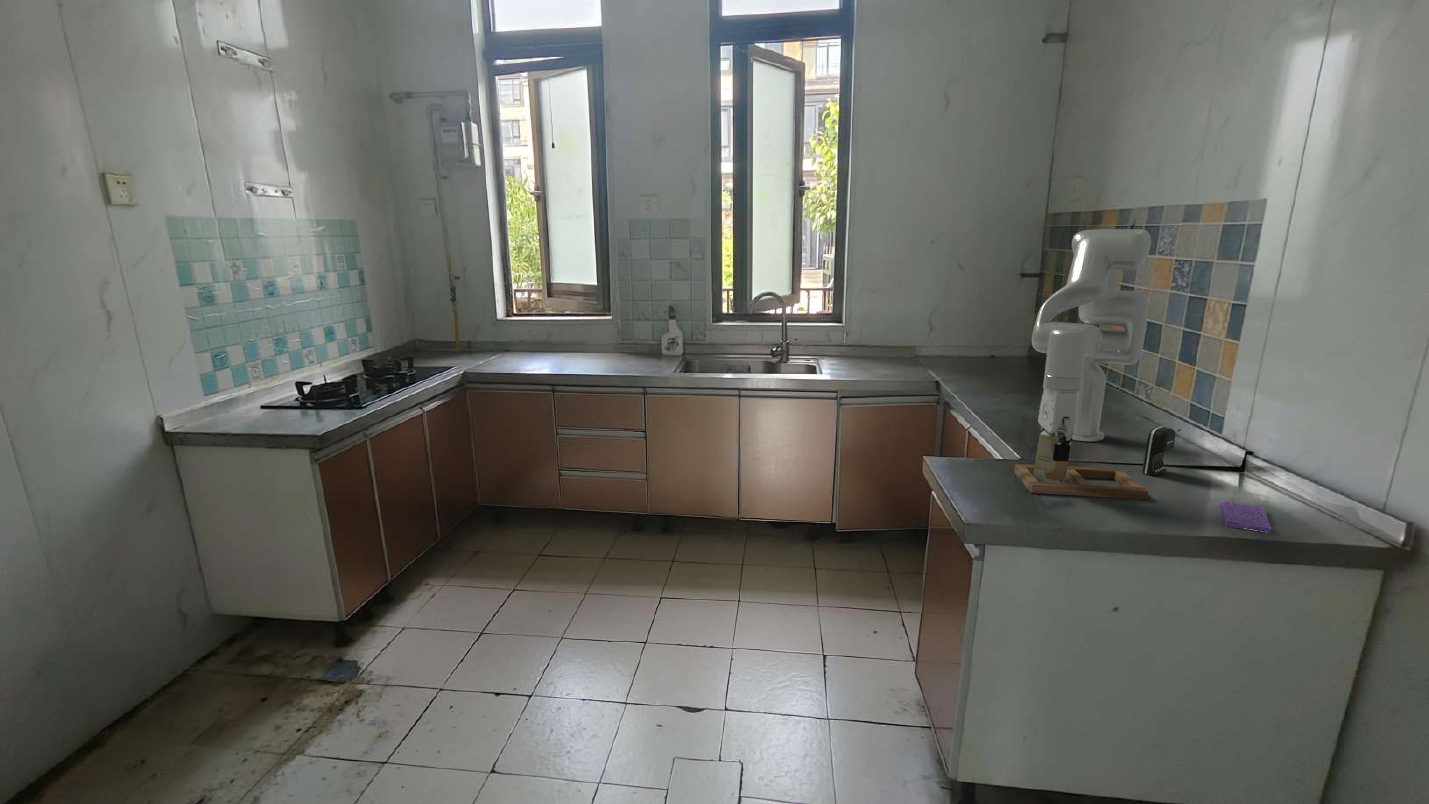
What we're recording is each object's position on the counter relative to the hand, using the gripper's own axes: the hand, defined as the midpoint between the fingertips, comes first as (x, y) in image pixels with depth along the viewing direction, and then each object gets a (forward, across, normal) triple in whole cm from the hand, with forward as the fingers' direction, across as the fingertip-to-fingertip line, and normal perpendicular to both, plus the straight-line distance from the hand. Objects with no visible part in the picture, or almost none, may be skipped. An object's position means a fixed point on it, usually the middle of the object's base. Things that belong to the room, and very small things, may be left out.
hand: (1053, 453), depth 148 cm
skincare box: (+7, 0, 0) cm, 8 cm away
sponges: (+8, +15, +32) cm, 37 cm away
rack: (+7, 0, +6) cm, 9 cm away
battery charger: (+8, -10, +28) cm, 31 cm away
